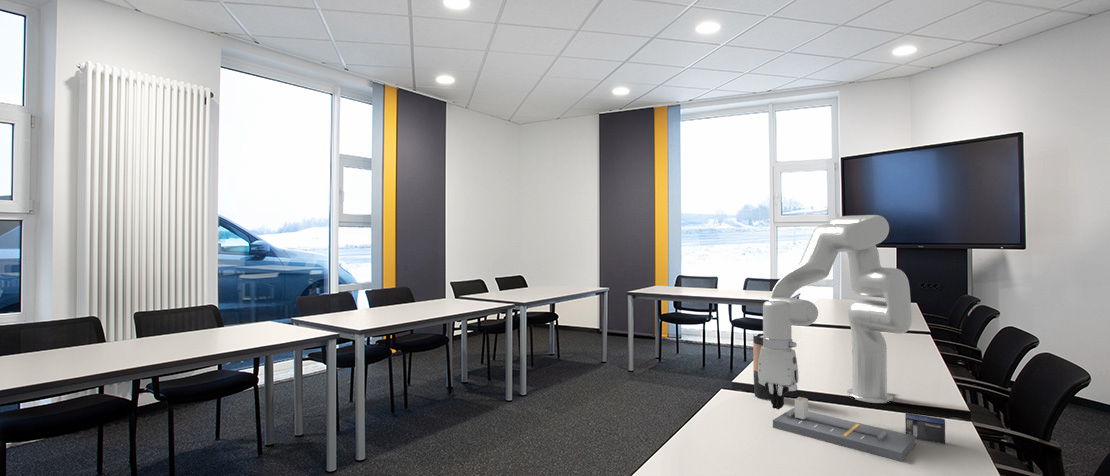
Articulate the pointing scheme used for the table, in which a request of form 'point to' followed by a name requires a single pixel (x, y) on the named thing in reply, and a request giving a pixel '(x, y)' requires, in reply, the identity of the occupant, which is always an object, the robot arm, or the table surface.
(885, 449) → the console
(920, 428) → the mini dv tape
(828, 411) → the table surface
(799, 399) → the fader
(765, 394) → the travel mug
